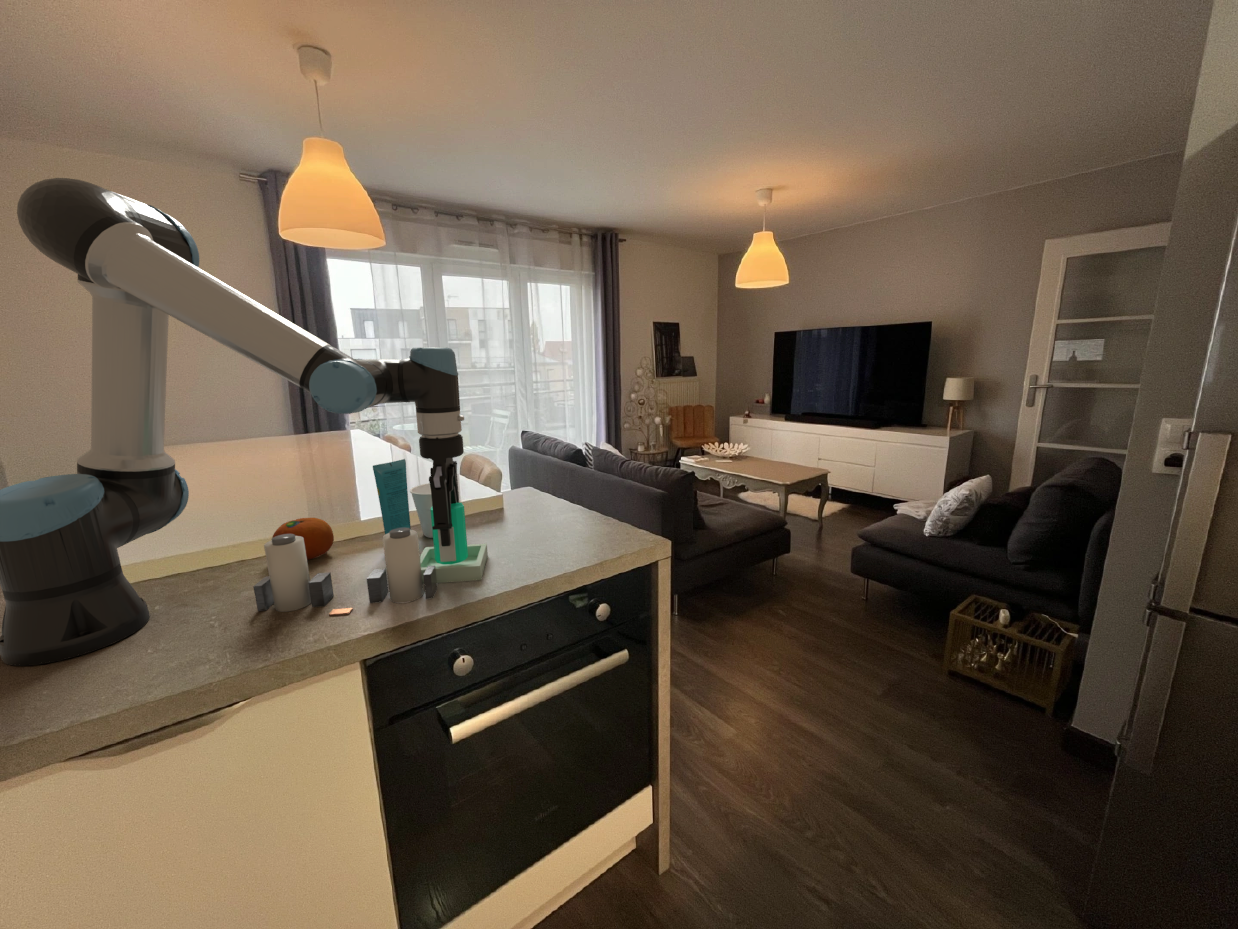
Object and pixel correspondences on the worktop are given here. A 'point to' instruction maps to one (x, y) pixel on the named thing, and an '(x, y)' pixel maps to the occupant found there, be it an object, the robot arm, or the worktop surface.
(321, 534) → the fruit
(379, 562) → the worktop surface
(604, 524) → the worktop surface
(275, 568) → the cylinder
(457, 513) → the candle
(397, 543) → the fuse right
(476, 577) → the tray
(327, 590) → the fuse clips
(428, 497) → the cup
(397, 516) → the tube
